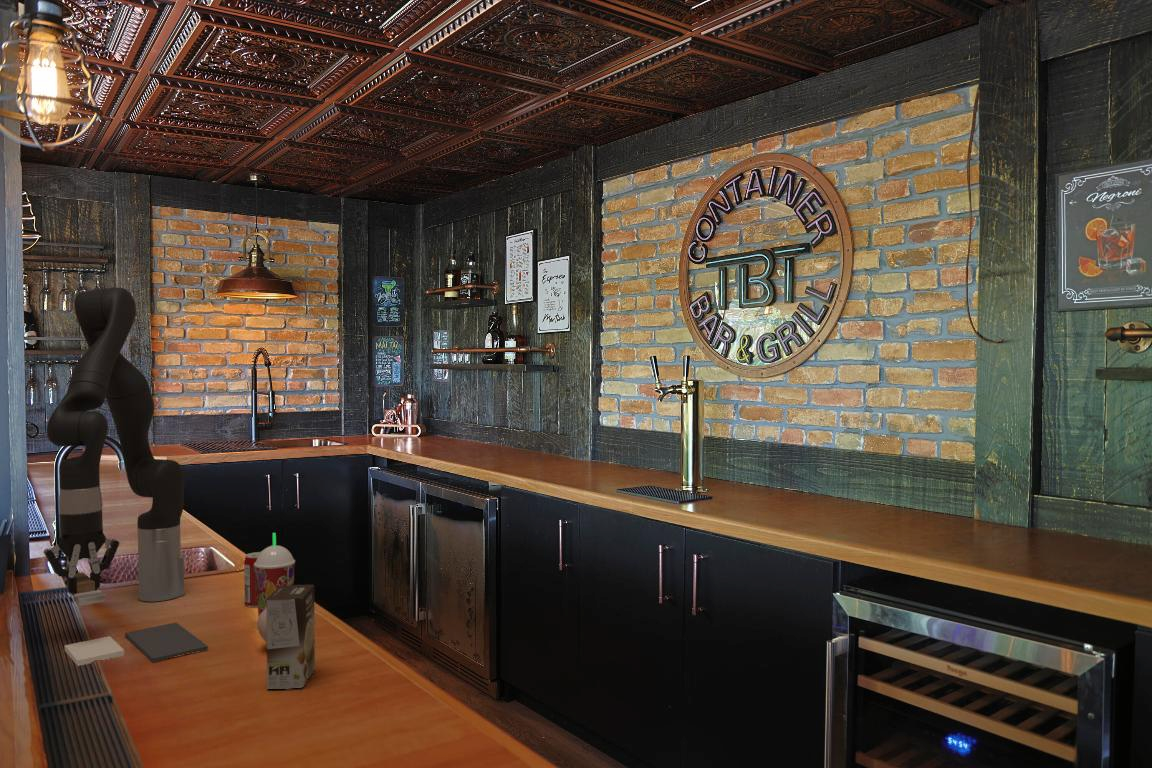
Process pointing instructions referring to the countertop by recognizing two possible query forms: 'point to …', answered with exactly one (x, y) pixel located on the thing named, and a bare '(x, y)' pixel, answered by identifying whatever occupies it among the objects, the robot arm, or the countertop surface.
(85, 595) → the tan two-tone long part
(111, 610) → the countertop surface
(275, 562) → the smoothie
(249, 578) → the soda can
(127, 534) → the countertop surface
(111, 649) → the tile
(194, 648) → the mat
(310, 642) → the coffee box
